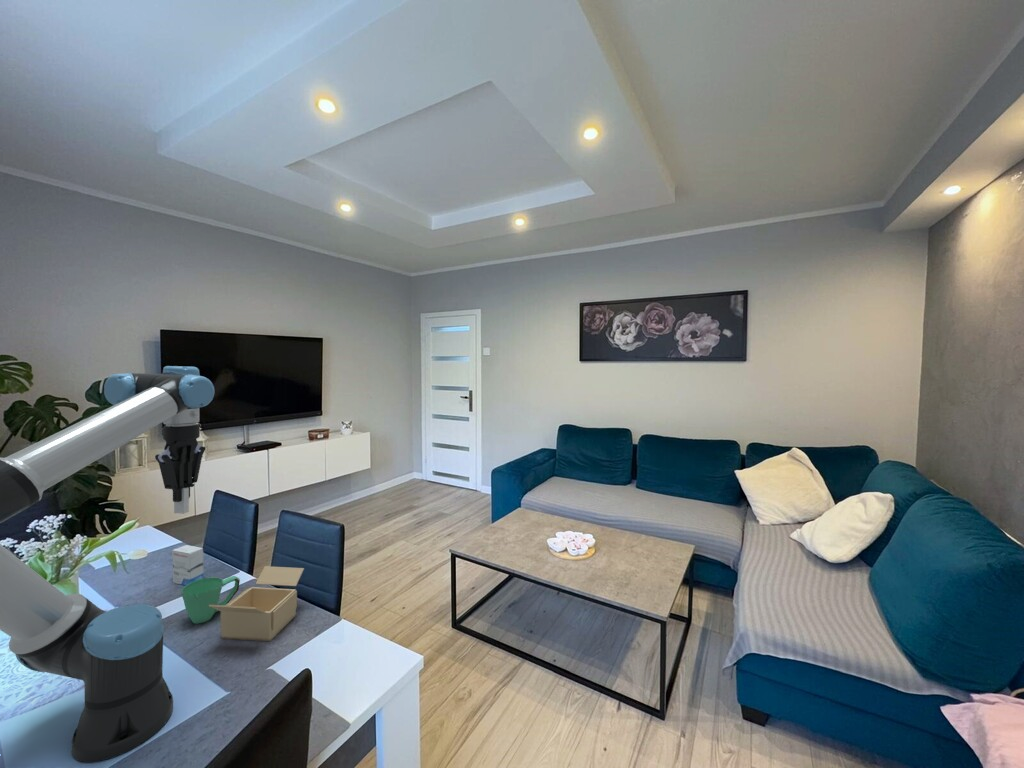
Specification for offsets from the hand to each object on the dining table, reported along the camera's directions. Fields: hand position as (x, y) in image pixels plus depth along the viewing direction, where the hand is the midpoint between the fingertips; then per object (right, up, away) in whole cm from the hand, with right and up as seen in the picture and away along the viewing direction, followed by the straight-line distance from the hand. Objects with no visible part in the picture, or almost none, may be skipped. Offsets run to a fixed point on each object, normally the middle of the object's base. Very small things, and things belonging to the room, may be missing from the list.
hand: (181, 512), depth 107 cm
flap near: (+14, -28, +3) cm, 32 cm away
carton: (+15, -37, +10) cm, 41 cm away
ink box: (-25, -35, +33) cm, 55 cm away
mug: (-3, -36, +15) cm, 39 cm away
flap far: (+15, -28, +17) cm, 36 cm away
